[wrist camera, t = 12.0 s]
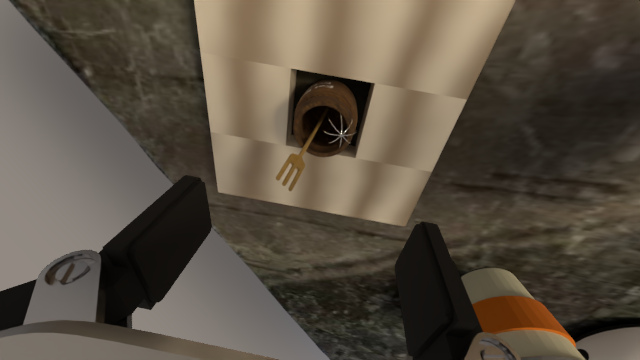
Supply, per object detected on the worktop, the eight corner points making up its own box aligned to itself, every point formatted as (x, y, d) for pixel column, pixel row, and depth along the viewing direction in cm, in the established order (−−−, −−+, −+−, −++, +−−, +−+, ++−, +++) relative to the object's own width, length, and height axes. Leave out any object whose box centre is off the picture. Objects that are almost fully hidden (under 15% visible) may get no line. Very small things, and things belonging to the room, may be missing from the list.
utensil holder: (368, 108, 25) (380, 163, 15) (325, 144, 28) (311, 210, 18) (331, 63, 23) (316, 92, 13) (289, 107, 26) (250, 157, 16)
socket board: (502, -15, 19) (525, -21, 16) (400, 210, 32) (405, 226, 29) (206, -66, 19) (183, -80, 16) (228, 179, 32) (218, 192, 30)
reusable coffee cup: (472, 314, 43) (522, 431, 31) (427, 284, 40) (462, 401, 27) (546, 286, 37) (646, 419, 25) (500, 248, 34) (587, 379, 21)
